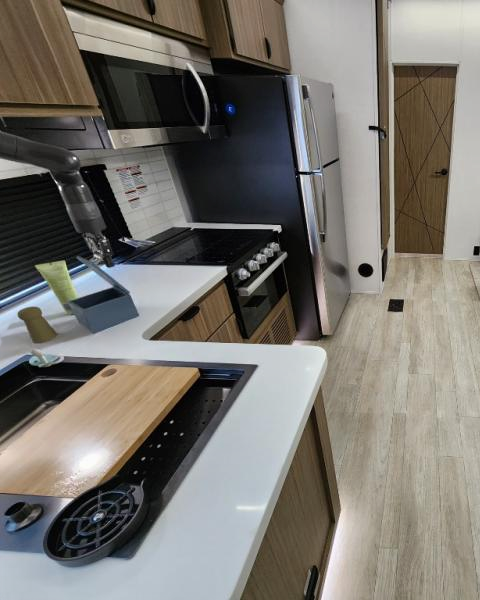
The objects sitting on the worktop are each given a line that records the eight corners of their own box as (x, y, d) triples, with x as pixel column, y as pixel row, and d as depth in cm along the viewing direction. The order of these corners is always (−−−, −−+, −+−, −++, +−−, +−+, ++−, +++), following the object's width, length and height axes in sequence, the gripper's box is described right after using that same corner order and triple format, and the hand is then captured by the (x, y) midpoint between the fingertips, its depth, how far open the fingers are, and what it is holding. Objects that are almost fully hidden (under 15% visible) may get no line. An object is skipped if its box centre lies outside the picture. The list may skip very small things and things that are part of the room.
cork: (38, 334, 110) (20, 306, 105) (61, 331, 112) (44, 302, 106) (27, 344, 105) (8, 315, 100) (51, 340, 107) (33, 311, 101)
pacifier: (53, 355, 100) (28, 367, 95) (43, 337, 97) (17, 349, 92) (70, 359, 98) (46, 371, 93) (61, 341, 95) (35, 353, 90)
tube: (77, 307, 126) (51, 259, 117) (89, 307, 126) (64, 259, 117) (62, 314, 121) (34, 265, 112) (74, 315, 121) (47, 265, 112)
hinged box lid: (91, 264, 105) (105, 254, 108) (75, 257, 111) (89, 247, 113) (128, 294, 116) (140, 284, 118) (112, 286, 122) (124, 276, 124)
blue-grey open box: (94, 333, 110) (81, 310, 106) (79, 323, 116) (67, 301, 112) (139, 315, 120) (130, 294, 116) (123, 307, 126) (114, 286, 122)
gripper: (62, 215, 106) (85, 264, 114) (80, 221, 100) (103, 273, 108) (91, 211, 112) (111, 258, 120) (109, 216, 105) (129, 266, 113)
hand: (107, 265), depth 114 cm, fingers closed on hinged box lid, 5 cm apart
